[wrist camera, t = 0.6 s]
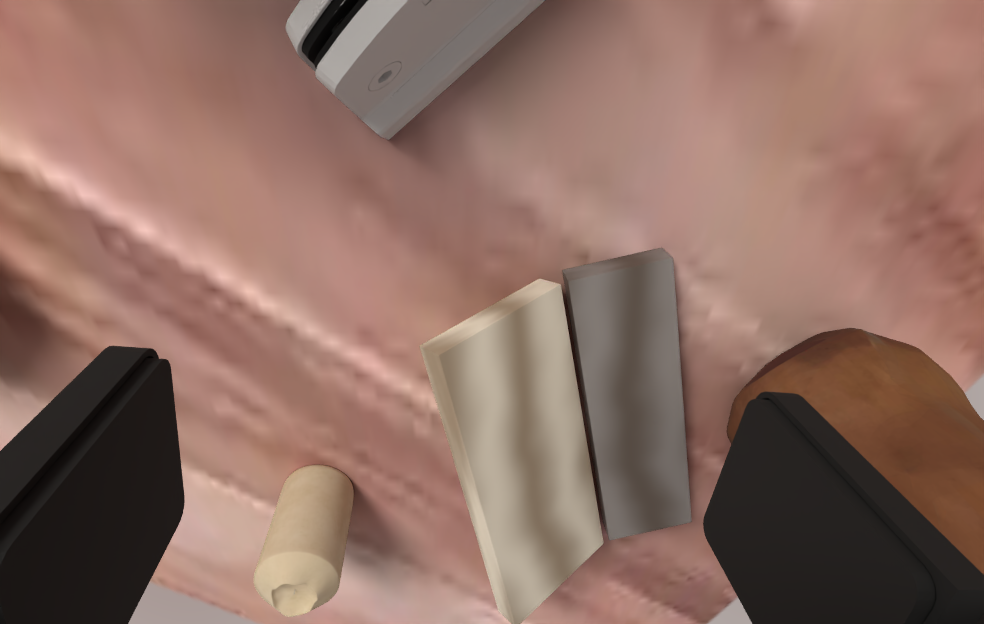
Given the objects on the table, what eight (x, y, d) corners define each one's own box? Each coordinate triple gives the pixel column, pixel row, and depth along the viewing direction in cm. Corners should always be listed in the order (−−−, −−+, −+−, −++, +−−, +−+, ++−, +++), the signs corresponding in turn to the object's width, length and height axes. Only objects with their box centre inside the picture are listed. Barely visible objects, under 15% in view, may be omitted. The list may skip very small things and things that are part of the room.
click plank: (539, 278, 40) (560, 284, 38) (585, 531, 50) (603, 543, 49) (419, 345, 35) (438, 355, 33) (498, 611, 45) (516, 627, 44)
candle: (277, 466, 45) (239, 574, 36) (350, 460, 46) (330, 566, 37) (289, 519, 48) (255, 633, 39) (358, 514, 48) (341, 626, 39)
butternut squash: (779, 470, 50) (1061, 829, 28) (667, 399, 46) (894, 755, 23) (910, 351, 46) (1367, 659, 23) (800, 261, 42) (1232, 532, 19)
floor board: (662, 247, 40) (672, 257, 38) (682, 504, 51) (691, 522, 49) (562, 270, 40) (568, 281, 38) (603, 522, 51) (609, 540, 49)
